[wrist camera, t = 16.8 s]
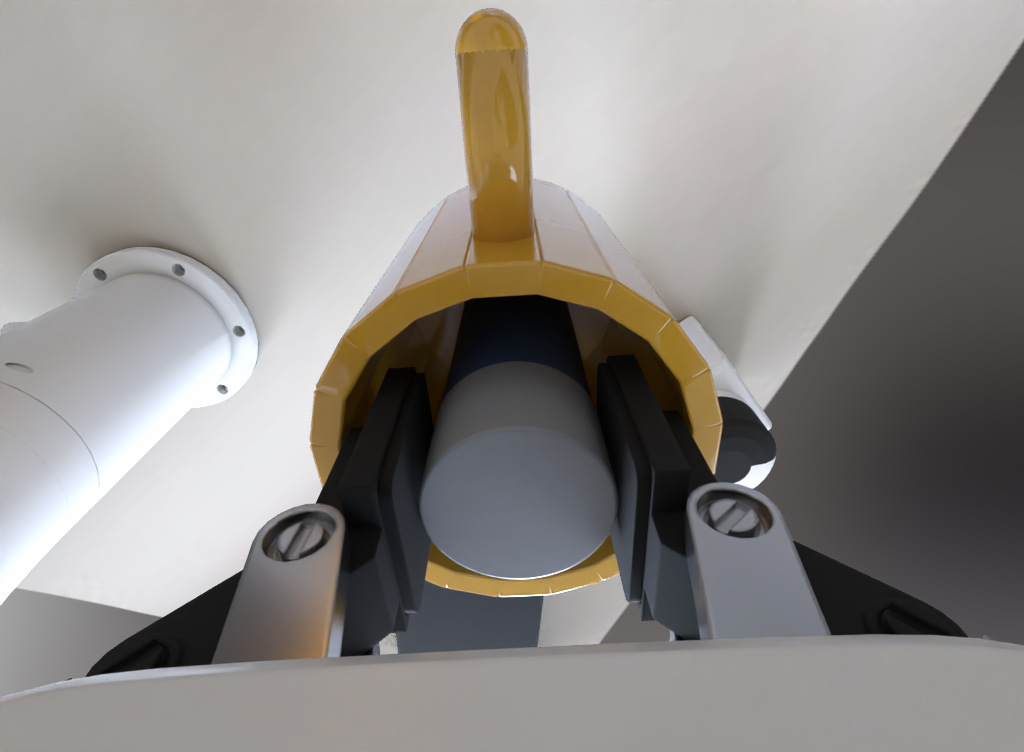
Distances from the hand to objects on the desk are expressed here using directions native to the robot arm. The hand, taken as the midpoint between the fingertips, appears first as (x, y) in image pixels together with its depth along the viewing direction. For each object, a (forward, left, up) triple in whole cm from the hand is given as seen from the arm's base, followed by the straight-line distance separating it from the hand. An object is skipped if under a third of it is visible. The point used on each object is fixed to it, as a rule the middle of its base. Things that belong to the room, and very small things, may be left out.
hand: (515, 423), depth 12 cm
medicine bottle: (+12, -14, -27) cm, 33 cm away
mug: (0, +2, -8) cm, 8 cm away
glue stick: (0, 0, -7) cm, 7 cm away
